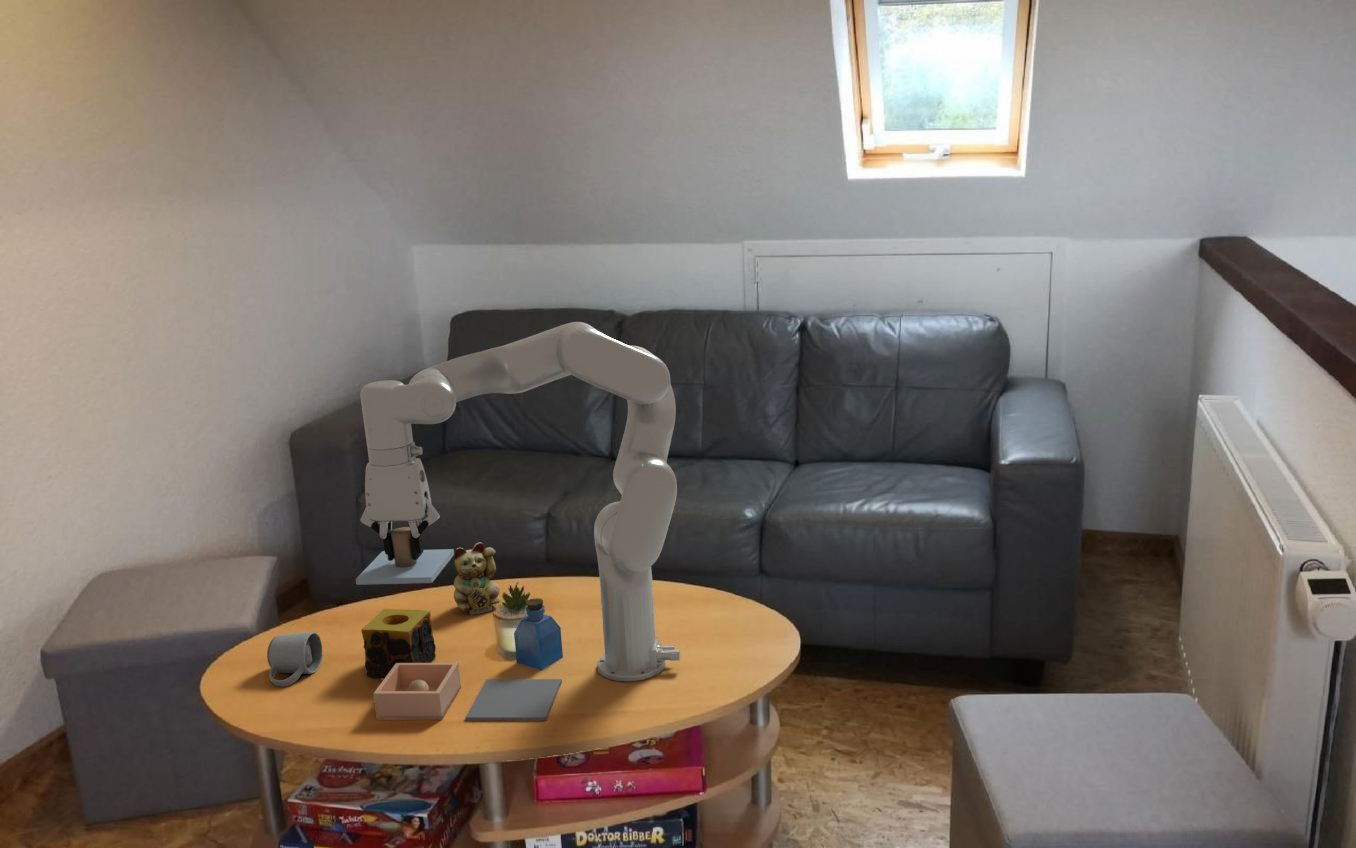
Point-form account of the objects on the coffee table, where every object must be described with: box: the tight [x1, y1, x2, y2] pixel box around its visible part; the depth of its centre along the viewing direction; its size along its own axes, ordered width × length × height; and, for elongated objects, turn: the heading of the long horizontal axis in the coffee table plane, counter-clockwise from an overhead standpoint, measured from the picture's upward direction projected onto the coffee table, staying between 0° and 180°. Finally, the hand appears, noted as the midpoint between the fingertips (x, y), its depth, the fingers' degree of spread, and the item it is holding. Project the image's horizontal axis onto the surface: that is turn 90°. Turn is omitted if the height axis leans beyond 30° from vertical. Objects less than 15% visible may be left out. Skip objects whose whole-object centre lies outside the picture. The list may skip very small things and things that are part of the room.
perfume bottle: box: [513, 597, 564, 671], centre depth 212 cm, size 6×6×12 cm
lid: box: [355, 526, 455, 586], centre depth 192 cm, size 13×13×7 cm
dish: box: [373, 662, 462, 721], centre depth 198 cm, size 12×12×5 cm
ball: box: [408, 680, 429, 691], centre depth 198 cm, size 4×4×4 cm
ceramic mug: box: [266, 631, 323, 687], centre depth 212 cm, size 11×8×8 cm
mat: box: [465, 678, 563, 722], centre depth 198 cm, size 14×14×1 cm
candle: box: [361, 608, 437, 680], centre depth 212 cm, size 10×10×10 cm
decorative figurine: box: [453, 542, 501, 616], centre depth 238 cm, size 10×8×15 cm
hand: (405, 556), depth 192 cm, fingers closed on lid, 3 cm apart
